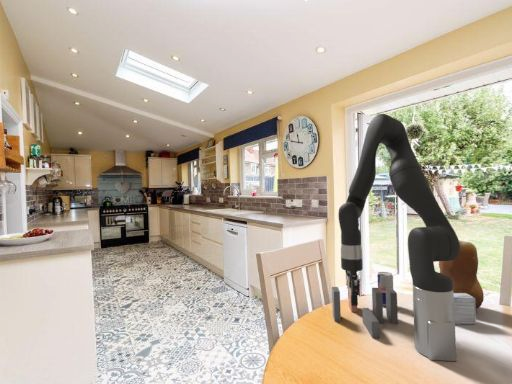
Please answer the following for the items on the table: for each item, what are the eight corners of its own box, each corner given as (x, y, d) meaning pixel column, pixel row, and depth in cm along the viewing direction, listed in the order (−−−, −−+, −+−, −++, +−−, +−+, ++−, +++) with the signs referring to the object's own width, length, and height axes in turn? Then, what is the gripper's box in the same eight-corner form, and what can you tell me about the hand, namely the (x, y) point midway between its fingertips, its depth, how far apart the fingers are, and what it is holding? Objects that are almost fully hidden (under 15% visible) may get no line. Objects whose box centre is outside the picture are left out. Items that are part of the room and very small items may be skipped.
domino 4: (383, 323, 91) (382, 292, 91) (376, 323, 91) (375, 292, 92) (378, 316, 96) (377, 287, 96) (372, 316, 96) (371, 287, 96)
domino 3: (369, 323, 92) (379, 338, 82) (362, 323, 92) (372, 338, 82) (368, 307, 92) (378, 321, 82) (362, 307, 92) (371, 321, 82)
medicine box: (467, 318, 93) (466, 292, 93) (476, 325, 88) (475, 297, 88) (442, 318, 94) (441, 292, 94) (450, 324, 89) (449, 297, 89)
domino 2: (357, 312, 100) (356, 284, 100) (351, 312, 100) (350, 284, 100) (354, 306, 105) (353, 280, 105) (349, 306, 105) (348, 280, 105)
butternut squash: (484, 307, 102) (481, 238, 102) (484, 320, 91) (481, 244, 92) (439, 298, 111) (436, 235, 111) (434, 310, 100) (432, 240, 101)
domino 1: (340, 321, 93) (339, 291, 93) (334, 321, 93) (333, 291, 94) (338, 315, 98) (337, 286, 98) (332, 315, 98) (331, 286, 98)
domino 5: (397, 323, 90) (396, 293, 91) (391, 323, 91) (390, 292, 91) (392, 317, 95) (391, 288, 96) (386, 317, 96) (385, 287, 96)
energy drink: (375, 303, 107) (374, 272, 108) (386, 301, 109) (385, 271, 109) (385, 308, 102) (384, 276, 102) (397, 306, 104) (396, 274, 104)
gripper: (366, 261, 95) (368, 310, 95) (357, 252, 109) (359, 295, 109) (344, 260, 96) (345, 310, 96) (338, 252, 111) (339, 295, 110)
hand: (352, 302), depth 103 cm, fingers closed on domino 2, 5 cm apart
